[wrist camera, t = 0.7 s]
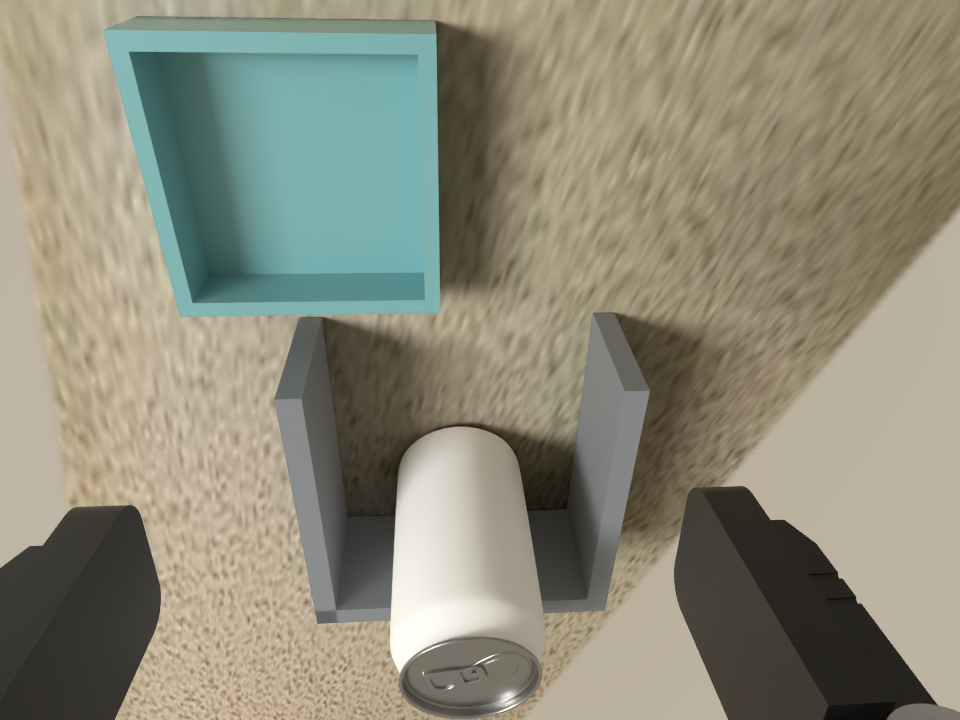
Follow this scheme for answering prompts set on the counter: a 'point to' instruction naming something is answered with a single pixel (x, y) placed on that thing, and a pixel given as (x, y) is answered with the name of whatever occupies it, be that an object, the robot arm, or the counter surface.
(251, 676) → the counter surface
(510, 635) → the can
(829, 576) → the robot arm
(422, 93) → the tray
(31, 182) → the counter surface
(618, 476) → the bay
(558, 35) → the counter surface
